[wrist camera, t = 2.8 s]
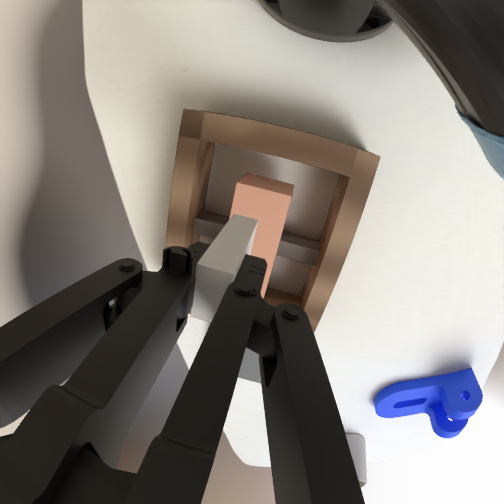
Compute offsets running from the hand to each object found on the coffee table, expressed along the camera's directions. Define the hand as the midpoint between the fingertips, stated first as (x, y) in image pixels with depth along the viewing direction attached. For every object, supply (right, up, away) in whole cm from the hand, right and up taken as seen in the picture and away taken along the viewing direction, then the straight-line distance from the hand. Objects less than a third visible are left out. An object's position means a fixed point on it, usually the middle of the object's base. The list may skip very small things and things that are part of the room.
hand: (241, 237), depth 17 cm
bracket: (+30, -25, +21) cm, 44 cm away
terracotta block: (+1, +1, +11) cm, 11 cm away
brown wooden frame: (+1, +2, +13) cm, 14 cm away
